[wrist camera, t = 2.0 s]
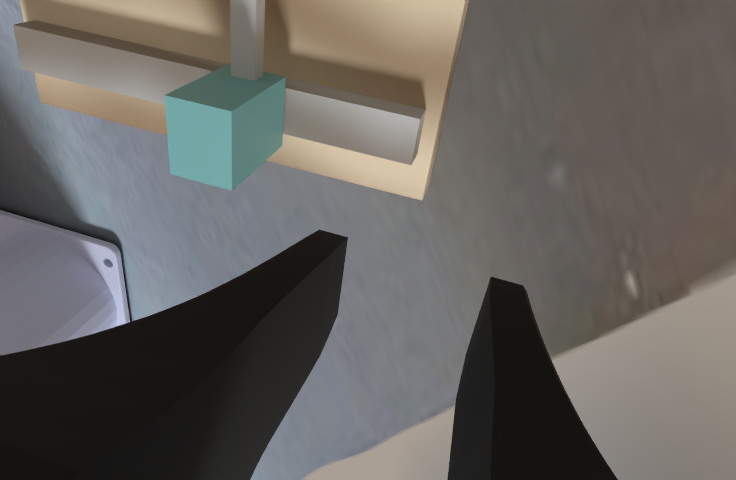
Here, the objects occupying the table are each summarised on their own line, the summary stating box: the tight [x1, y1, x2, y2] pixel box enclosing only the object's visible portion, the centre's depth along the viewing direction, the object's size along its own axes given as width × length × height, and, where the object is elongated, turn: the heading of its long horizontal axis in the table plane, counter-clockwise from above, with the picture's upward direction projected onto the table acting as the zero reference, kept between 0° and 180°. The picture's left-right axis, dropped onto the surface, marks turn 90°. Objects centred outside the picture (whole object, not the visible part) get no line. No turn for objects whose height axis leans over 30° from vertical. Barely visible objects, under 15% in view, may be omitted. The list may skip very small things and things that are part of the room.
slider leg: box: [164, 0, 286, 190], centre depth 16 cm, size 7×2×5 cm, turn 172°
